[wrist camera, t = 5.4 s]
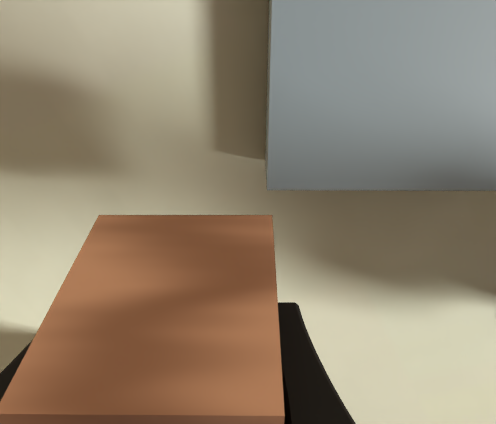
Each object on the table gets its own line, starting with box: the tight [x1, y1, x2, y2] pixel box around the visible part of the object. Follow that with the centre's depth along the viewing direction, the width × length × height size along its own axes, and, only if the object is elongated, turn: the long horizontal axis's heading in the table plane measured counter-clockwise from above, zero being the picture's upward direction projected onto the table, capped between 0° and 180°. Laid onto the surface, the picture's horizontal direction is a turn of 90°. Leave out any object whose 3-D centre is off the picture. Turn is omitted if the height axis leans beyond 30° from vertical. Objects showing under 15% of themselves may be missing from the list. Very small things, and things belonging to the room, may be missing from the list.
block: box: [0, 215, 285, 424], centre depth 11 cm, size 5×5×6 cm
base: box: [265, 0, 496, 191], centre depth 15 cm, size 11×11×2 cm
